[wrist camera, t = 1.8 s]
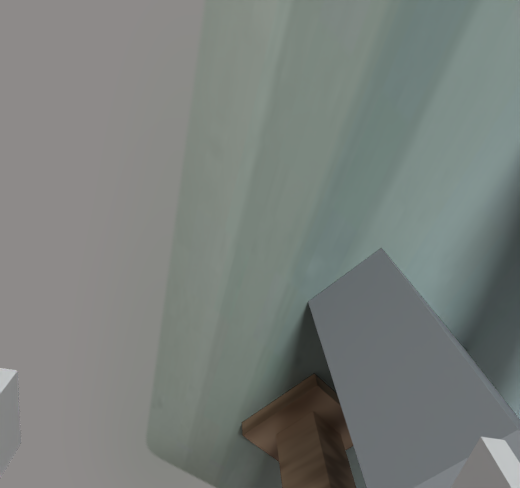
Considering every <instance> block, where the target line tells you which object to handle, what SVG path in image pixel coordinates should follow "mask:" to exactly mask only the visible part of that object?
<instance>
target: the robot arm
mask: <svg viewBox="0 0 520 488" xmlns="http://www.w3.org/2000/svg"><path fill="white" fill-rule="evenodd" d="M20 444H21V431H20V409H19V388H18V371H17V370H10V369H3V368H0V478H1V476H2V475H3V473H4V471H5V470H6V468H7V466H8V464H9V463H10V461H11V460H12V458H13V456H14V455H15V453H16V451H17V450H18V448H19V446H20ZM451 488H520V462H519V461H518V459H517V458H516V456H515V455H514V453H513V452H512V450H511V449H510V447H509V446H508V444H507V442H506V441H505V440H501V439H494V438H487V437H480V439H479V441H478V442H477V444H476V446H475V447H474V449H473V451H472V452H471V454H470V456H469V457H468V459H467V461H466V463H465V464H464V466H463V468H462V469H461V471H460V473H459V474H458V476H457V478H456V479H455V481H454V483H453V485H452V486H451Z"/></svg>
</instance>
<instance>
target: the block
mask: <svg viewBox="0 0 520 488" xmlns="http://www.w3.org/2000/svg"><path fill="white" fill-rule="evenodd" d="M308 303H309V306H310V310H311V313H312V316H313V319H314V322H315V325H316V329H317V332H318V335H319V338H320V341H321V344H322V348H323V351H324V354H325V357H326V360H327V363H328V367H329V370H330V373H331V376H332V379H333V382H334V386H335V389H336V392H337V395H338V398H339V401H340V405H341V408H342V411H343V414H344V417H345V420H346V424H347V427H348V430H349V433H350V436H351V439H352V443H353V446H354V449H355V452H356V455H357V458H358V462H359V465H360V468H361V471H362V474H363V477H364V481H365V484H366V487H367V488H451V486H452V485H453V483H454V481H455V479H456V478H457V476H458V474H459V473H460V471H461V469H462V468H463V466H464V464H465V463H466V461H467V459H468V457H469V456H470V454H471V452H472V451H473V449H474V447H475V446H476V444H477V442H478V441H479V439H480V437H487V438H494V439H501V440H505V441H506V442H507V444H508V446H509V447H510V449H511V450H512V452H513V453H514V455H515V456H516V458H517V459H518V461H519V462H520V419H519V418H518V417H517V415H516V414H515V413H514V411H513V410H512V409H511V408H510V406H509V405H508V404H507V402H506V401H505V400H504V399H503V397H502V396H501V395H500V393H499V392H498V391H497V390H496V388H495V387H494V386H493V384H492V383H491V382H490V380H489V379H488V378H487V377H486V375H485V374H484V373H483V371H482V370H481V369H480V368H479V366H478V365H477V364H476V362H475V361H474V360H473V359H472V357H471V356H470V355H469V353H468V352H467V351H466V350H465V349H464V347H463V346H462V345H461V344H460V342H459V341H458V340H457V339H456V338H455V336H454V335H453V334H452V333H451V332H450V330H449V329H448V328H447V327H446V325H445V324H444V323H443V322H442V321H441V319H440V318H439V317H438V316H437V315H436V313H435V312H434V311H433V310H432V308H431V307H430V306H429V305H428V304H427V302H426V301H425V300H424V299H423V298H422V296H421V295H420V294H419V293H418V291H417V290H416V289H415V288H414V287H413V285H412V284H411V283H410V282H409V281H408V279H407V278H406V277H405V276H404V274H403V273H402V272H401V271H400V270H399V268H398V267H397V266H396V265H395V263H394V262H393V261H392V260H391V259H390V257H389V256H388V255H387V254H386V253H385V251H384V250H383V249H382V248H380V249H379V250H378V251H376V252H375V253H374V254H372V255H371V256H370V257H368V258H367V259H366V260H364V261H363V262H361V263H360V264H359V265H357V266H356V267H355V268H353V269H352V270H351V271H349V272H348V273H347V274H345V275H344V276H342V277H341V278H340V279H338V280H337V281H336V282H334V283H333V284H332V285H330V286H329V287H328V288H326V289H325V290H323V291H322V292H321V293H319V294H318V295H317V296H315V297H314V298H313V299H311V300H310V301H308Z"/></svg>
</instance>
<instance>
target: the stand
mask: <svg viewBox="0 0 520 488" xmlns="http://www.w3.org/2000/svg"><path fill="white" fill-rule="evenodd" d="M242 432H243V436H244V437H245V438H247V439H248V440H249V441H251V442H252V443H254V444H255V445H256V446H258V447H259V448H260V449H262V450H263V451H265V452H266V453H267V454H269V455H270V456H272V457H273V458H274V459H276V460H277V461H278V462H279V464H280V472H281V480H282V488H356V485H355V482H354V478H353V475H352V472H351V468H350V465H349V461H348V458H347V454H346V451H345V450H347V449H349V448H350V447H352V446H353V443H352V439H351V436H350V433H349V430H348V427H347V424H346V420H345V417H344V414H343V411H342V408H341V405H340V401H339V398H338V395H337V393H335V392H334V391H333V390H332V389H331V388H330V387H329V386H328V385H327V384H325V383H324V382H323V381H322V380H321V379H320V378H319V377H318V376H317V375H315V374H313V375H311V376H310V377H308V378H307V379H305V380H304V381H302V382H301V383H299V384H298V385H296V386H295V387H294V388H292V389H291V390H289V391H288V392H286V393H285V394H283V395H282V396H280V397H279V398H277V399H276V400H274V401H273V402H271V403H270V404H269V405H267V406H266V407H264V408H263V409H261V410H260V411H258V412H257V413H255V414H254V415H252V416H251V417H249V418H248V419H247V420H245V421H244V422H242Z"/></svg>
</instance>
